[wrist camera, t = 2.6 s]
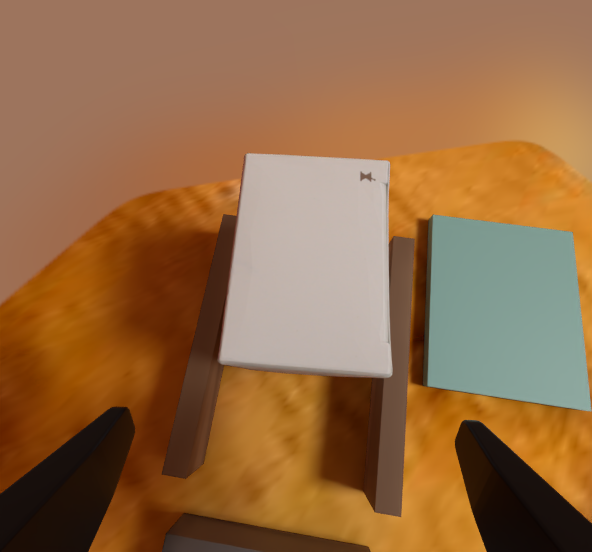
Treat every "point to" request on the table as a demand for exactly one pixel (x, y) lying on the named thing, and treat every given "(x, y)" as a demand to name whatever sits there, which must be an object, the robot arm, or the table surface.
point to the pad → (504, 313)
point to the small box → (310, 268)
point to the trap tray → (243, 538)
